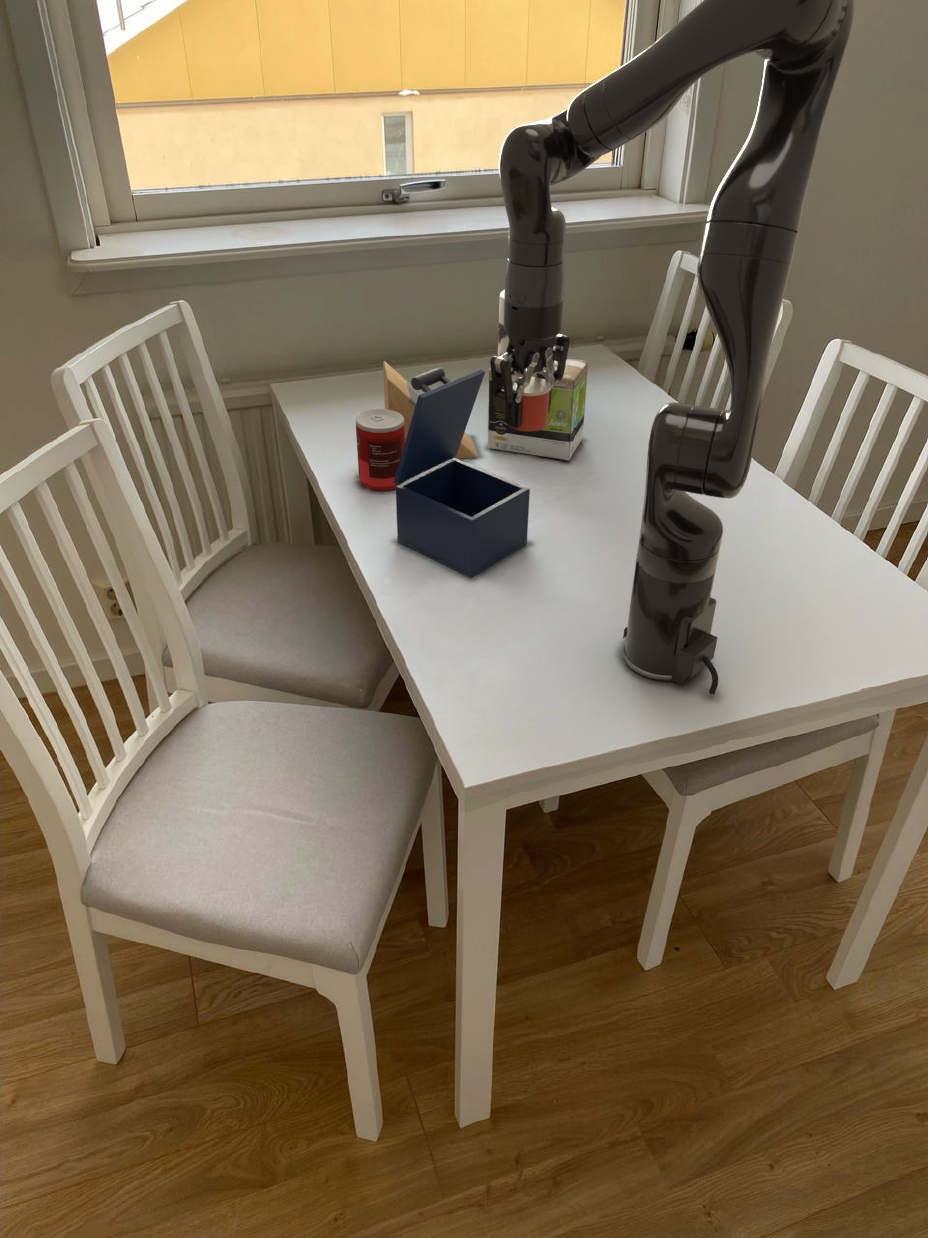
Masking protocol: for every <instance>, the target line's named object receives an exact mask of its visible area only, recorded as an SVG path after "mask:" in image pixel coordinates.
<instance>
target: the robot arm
mask: <svg viewBox="0 0 928 1238" xmlns="http://www.w3.org/2000/svg"><path fill="white" fill-rule="evenodd" d="M855 14H856V0H703V1H701V2H700V3H699V4H698V5H696V6H695V7H694V8H693V9H692V10H691V11H690V12H688V14H686V15H685V16H684V17H683V18H682V19H681V20H679V21H678V22H677V23H676V24H675V25H674V26H673V27H672V28H670V29H669V30H668V31H667V32H666V33H664V34H663V35H662V36H661V37H660V38H659V39H657V40H655V42H654V43H652V44H651V45H650V46H649V47H647V48H646V49H645V50H644V51H642V52H640V53H639V54H638V55H636V56H635V57H634V58H632V59H630V60H629V61H628V62H625V64H623V65H622V66H620V67H618V68H617V69H615V70H614V71H611V72H610V73H608V74H607V75H606V76H604V77H602V78H601V79H599V80H597V81H596V82H595V83H592V84H591V85H590V86H588V87H587V88H584V89H583V91H581V92H579V94H577V95H576V96H575V97H574V98H573V100H571V102H570V104H569V105H568V107H567V108H566V109H564V110H563V111H561V112H560V113H557V114H555V115H554V116H551V117H549V118H547V119H543V120H539V121H536V122H535V121H534V122H531V123H526V124H525V123H524V124H522V125H518V126H517V127H515V128H513V129H512V130H511V131H509V133H508V134H507V135H506V137H505V139H504V140H503V143H502V145H501V148H500V153H499V160H498V173H499V181H500V186H501V192H502V198H503V203H504V208H505V212H506V216H507V221H508V245H507V262H506V263H507V264H506V270H505V277H504V290H505V298H504V331H505V332H506V334H507V336H508V338H509V342H508V346H507V349H506V353H505V354H504V355H502V356H501V357H498V356H496V355H493V356H491V357H490V360H489V365H490V368H491V374H492V383H493V392H494V397H496V398H499V399H502V400H504V401H505V422H506V423H507V425H509V426H511V427H514V428H518V427H520V426H521V422H522V401H521V400H522V397H523V393H524V390H525V387H526V386H528V385H529V384H530V381H531V377H532V375H533V374H534V375H535V377H536V378H542V379H545V380H546V381H547V382H550V383H551V390H550V391H549V403H548V413H549V412H550V406H551V395H552V388H553V387H554V386H555V382H556V381H557V380H562V378H563V376H564V370H565V365H566V360H567V359H568V353H569V349H570V343H571V337H570V336H568V335H566V334H562V333H561V331H562V325H563V324H562V322H563V308H564V293H565V248H566V236H567V235H566V233H567V222H566V217H565V215H564V214H563V212H562V211H561V210H559V209H558V208H556V207H554V206H552V201H551V186H553V185H557V184H561V183H562V182H566V181H567V180H569V179H571V178H573V177H574V176H576V175H579V173H581V172H582V171H584V170H585V169H587V168H588V167H590V166H591V165H592V164H594V163H595V162H596V161H597V160H598V159H600V158H601V157H602V156H605V155H606V154H607V155H608V154H609V153H611V152H613V151H615V150H617V149H619V148H621V147H623V146H624V145H626V144H628V143H630V142H631V141H634V140H635V139H637V138H638V137H640V136H642V135H644V134H645V133H647V132H648V131H650V130H652V129H653V128H655V126H656V125H658V124H660V123H661V122H662V121H663V120H664V119H665V118H666V117H667V116H668V115H669V114H670V113H671V111H673V109H674V108H675V107H676V105H677V104H678V103H679V101H680V100H681V99H682V97H683V96H684V95H685V94H686V93H687V91H688V90H689V89H690V88H691V87H692V86H693V85H694V84H695V83H696V82H697V81H698V80H700V79H701V78H702V77H704V76H705V75H706V74H708V73H709V72H711V71H712V70H715V69H716V68H718V67H720V66H722V65H724V64H726V63H729V62H731V61H733V60H735V59H738V58H741V57H743V56H746V55H749V54H752V53H753V54H755V55H757V56H758V57H761V58H762V59H764V67H763V76H762V82H761V87H760V94H759V98H758V104H757V109H756V113H755V116H754V120H753V122H752V126H751V129H750V132H749V134H748V137H747V139H745V142H744V144H743V146H742V148H741V150H740V151H739V153H738V154H737V155H736V157H735V159H734V161H733V162H732V164H731V165H730V167H729V168H728V170H727V171H726V173H725V175H724V177H723V178H722V180H721V182H720V183H719V185H718V187H717V189H716V191H715V192H714V195H713V197H712V200H711V202H710V205H709V208H708V211H707V216H706V220H705V225H704V230H703V236H702V241H701V246H700V251H699V256H698V260H697V261H698V262H697V268H696V275H697V281H698V286H699V290H700V293H701V296H702V299H703V302H704V304H705V307H706V310H707V312H708V315H709V317H710V320H711V323H712V325H713V327H714V330H715V332H716V334H717V338H718V340H719V342H720V347H721V348H722V349H721V350H722V352H723V355H724V360H725V363H726V367H727V373H728V377H729V385H730V406H729V409H720V408H715V407H709V406H701V405H695V404H690V403H683V402H667V403H665V404H663V405H662V406H661V407H660V408H659V410H658V411H657V413H656V415H655V416H654V419H653V422H652V425H651V428H650V432H649V439H648V447H647V456H646V470H645V483H644V484H645V486H644V498H643V505H642V512H641V513H642V514H641V522H640V529H639V530H640V531H639V537H638V538H639V539H638V545H637V552H636V559H635V565H634V566H635V567H634V574H633V579H632V580H633V581H632V588H631V595H630V596H631V597H630V604H629V610H628V619H627V625H626V627H625V628H623V635H622V636H623V637H622V640H624V645H623V651H622V657H623V659H624V660H623V661H624V662H625V663H626V665H627V666H628V667H629V668H630V669H631V670H632V671H634V672H635V673H637V674H639V675H640V676H643V677H645V678H647V679H648V678H649V679H652V680H656V681H665V682H668V681H670V682H673V683H675V684H678V685H681V684H682V683H683V682H685V681H686V680H687V679H688V678H689V679H692V678H693V677H694V676H696V675H697V674H698V673H699V672H700V671H701V670H702V669H703V668H704V667H705V666H706V668H707V669H708V671H709V673H710V675H711V685H710V686H709V691H708V693H709V694H710V695H715V694H716V691H717V690H718V685H719V674H718V671H717V669H716V667H715V666H714V664H713V663H712V660H713V659H715V658H714V657H715V653H716V649H717V648H716V647H717V643H718V638H719V637H718V636H716V635H713V634H712V633H711V632H712V629H713V628H712V627H713V622H714V617H715V612H716V607H717V600H716V598H714V597H712V591H713V587H714V581H715V577H716V572H717V566H718V561H719V555H720V550H721V546H722V541H723V536H724V524H723V522H722V520H721V518H720V517H719V515H718V514H717V513H716V512H715V511H714V510H712V509H711V508H710V507H708V506H706V505H704V504H703V503H701V502H700V501H698V500H696V499H695V498H694V497H692V496H690V495H689V494H688V493H691V494H696V495H701V496H707V497H713V498H719V499H725V500H726V499H728V500H729V499H730V500H731V499H734V498H736V497H737V496H738V495H739V494H740V492H741V491H742V490H743V488H744V487H745V483H746V482H747V477H748V476H749V472H750V468H751V465H752V460H753V454H754V449H755V444H756V438H757V432H758V425H759V421H760V420H759V419H760V413H761V407H762V400H763V395H764V390H765V384H766V377H767V373H768V372H767V371H768V367H769V366H768V365H769V361H770V355H771V350H772V345H773V341H774V337H775V332H776V328H777V323H778V320H779V316H780V312H781V308H782V305H783V301H784V297H785V293H786V290H787V289H786V288H787V285H788V281H789V276H790V273H791V269H792V266H793V262H794V261H793V260H794V255H795V252H796V247H797V243H798V238H799V233H800V227H801V223H802V221H801V220H802V215H803V210H804V206H805V201H806V197H807V194H808V193H807V192H808V189H809V184H810V180H811V175H812V171H813V167H814V163H815V158H816V153H817V149H818V143H819V140H820V139H819V138H820V134H821V130H822V126H823V122H824V119H825V116H826V112H827V109H828V106H829V102H830V100H831V96H832V94H833V90H834V88H835V84H836V81H837V78H838V76H839V75H838V74H839V72H840V69H841V66H842V62H843V60H844V56H845V54H846V53H845V52H846V49H847V47H848V43H849V40H850V37H851V33H852V29H853V26H854V21H855ZM554 361H557V362H558V366H557V370H556V369H555V368H554ZM515 372H516V373H518V374H521V375H523V377H522V378H519V377H516V376H515ZM514 383H517V389H516V392H513V386H514ZM502 386H503V387H504V390H502Z"/></svg>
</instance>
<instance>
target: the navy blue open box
mask: <svg viewBox="0 0 928 1238" xmlns="http://www.w3.org/2000/svg"><path fill="white" fill-rule="evenodd" d="M530 491H531V488H530V487H527V486H525V485H522V484H520V483H518V482H515V481H513V480H510V479H507V478H505V477H503V476H500V475H497V474H495V473H493V472H491V471H488V470H486V469H484V468H481V467H478V466H477V465H473V464H471V463H469V462H466V461H463V460H461V459H460V458H458V459H456V458H453V459H450V460H447V461H445V462H443V463H441V464H439V465H437V466H435V467H433V468H431V469H429V470H427V471H425V472H423V473H421V474H419V475H417V476H415V477H413V478H411V479H409V480H406V481H404V483H402V484H400V485H398V486H396V489H395V506H396V534H397V536H396V537H397V543H399V544H400V545H403V546H405V547H407V548H408V549H411V550H413V551H415V552H417V553H419V554H421V555H424V556H425V557H427V558H429V559H431V560H433V561H435V562H437V563H439V564H442V565H444V566H446V567H447V568H449V569H452V570H453V571H455V572H458V573H460V574H462V575H463V576H466V577H467V578H470V579H472V578H474V577H476V576H477V575H479V574H480V573H482V572H484V571H485V570H487V569H488V568H491V567H492V566H493V565H495V564H497V563H498V562H500V561H501V560H504V559H505V558H506V557H508V556H510V555H511V554H513V553H514V552H517V551H518V550H520V549H521V548H522V547H524V546H526V545H527V544H528V533H529V531H528V530H529V512H530V493H531V492H530Z"/></svg>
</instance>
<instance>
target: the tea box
mask: <svg viewBox="0 0 928 1238" xmlns="http://www.w3.org/2000/svg"><path fill="white" fill-rule="evenodd" d="M557 366H558V362H557V361H554V368H555V369H556V370H557ZM588 368H589V361H588V360H583V359H573V358H567V360H566V365H565V370H564V376H563V378H562V380H557V381H556V382H555V386H554V387H553V388H552V395H551V406H550V412H549V413H548V419H547V426H546V427H545V428H543V429H541V430H538V431H520V430H516V429H514V428H512V427H510V426H509V425H507V423H506V422H505V401H504V400H502V399H499V398H496V397H494V392H493V383H492V374H491V367H490V368H489V370H488V406H487V407H488V409H487V410H488V411H487V412H488V413H487V415H488V417H487V436H488V437H487V440H488V441H487V443H488V444H487V447H488V448H489V449H494V450H500V451H506V452H512V453H513V452H514V453H518V454H519V453H520V454H527V455H533V456H539V457H543V458H545V457H546V458H550V459H551V458H552V459H558V460H563V461H570V460H571V458H572V457H573V454H574V453H575V452H576V450H577V449H578V446H579V445H580V443H581V441H582V439H583V433H584V425H585V424H584V423H585V411H586V400H587V399H586V398H587V382H588ZM515 376H516V377H523V375H521V374H518V373H516V372H515ZM532 377H535V375H534V374H533V375H532ZM502 390H504V387H503V386H502Z"/></svg>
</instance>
